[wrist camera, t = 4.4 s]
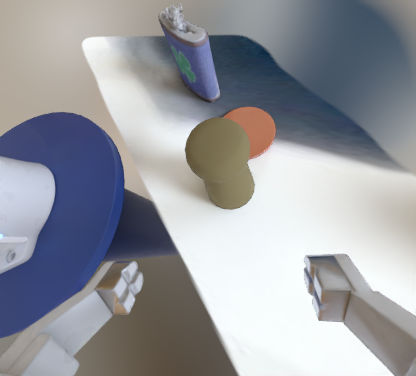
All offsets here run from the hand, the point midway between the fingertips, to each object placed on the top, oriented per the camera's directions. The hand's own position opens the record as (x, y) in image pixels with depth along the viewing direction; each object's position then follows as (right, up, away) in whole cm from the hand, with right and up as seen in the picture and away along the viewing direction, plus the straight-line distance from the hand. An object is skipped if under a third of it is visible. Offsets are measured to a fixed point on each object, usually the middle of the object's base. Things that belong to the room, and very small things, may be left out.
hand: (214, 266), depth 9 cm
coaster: (+5, +11, +16) cm, 21 cm away
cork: (+3, +4, +15) cm, 16 cm away
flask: (-2, +20, +21) cm, 29 cm away
